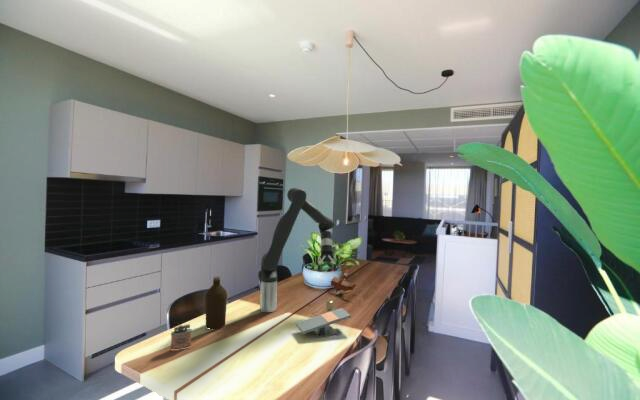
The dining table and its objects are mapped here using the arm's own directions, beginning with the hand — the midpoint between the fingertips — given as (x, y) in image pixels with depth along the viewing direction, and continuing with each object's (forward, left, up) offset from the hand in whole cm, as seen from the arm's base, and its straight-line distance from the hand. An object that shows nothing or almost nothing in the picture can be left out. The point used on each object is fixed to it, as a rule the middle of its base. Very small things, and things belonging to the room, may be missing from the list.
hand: (327, 271), depth 170 cm
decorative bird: (+23, +24, -24) cm, 41 cm away
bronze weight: (-2, -10, -23) cm, 25 cm away
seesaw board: (-12, -24, -18) cm, 32 cm away
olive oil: (-62, 0, -24) cm, 66 cm away
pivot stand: (-12, -24, -23) cm, 35 cm away
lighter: (-77, -18, -24) cm, 82 cm away
